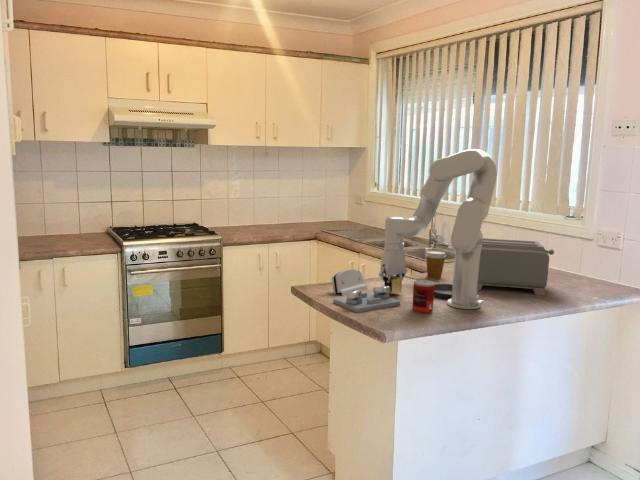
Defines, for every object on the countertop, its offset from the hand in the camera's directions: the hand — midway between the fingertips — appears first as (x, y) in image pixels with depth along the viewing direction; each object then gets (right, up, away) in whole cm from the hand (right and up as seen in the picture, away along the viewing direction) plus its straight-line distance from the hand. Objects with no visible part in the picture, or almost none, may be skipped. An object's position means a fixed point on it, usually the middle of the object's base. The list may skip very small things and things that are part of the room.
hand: (392, 290), depth 233 cm
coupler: (0, -1, 0) cm, 1 cm away
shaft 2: (-6, -3, -11) cm, 13 cm away
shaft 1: (-17, -5, -20) cm, 27 cm away
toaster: (+54, -1, +19) cm, 57 cm away
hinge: (-18, -1, +4) cm, 18 cm away
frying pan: (+18, -2, +8) cm, 20 cm away
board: (-12, -4, -15) cm, 20 cm away
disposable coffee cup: (+24, +3, +34) cm, 41 cm away
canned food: (+8, -6, -22) cm, 24 cm away
